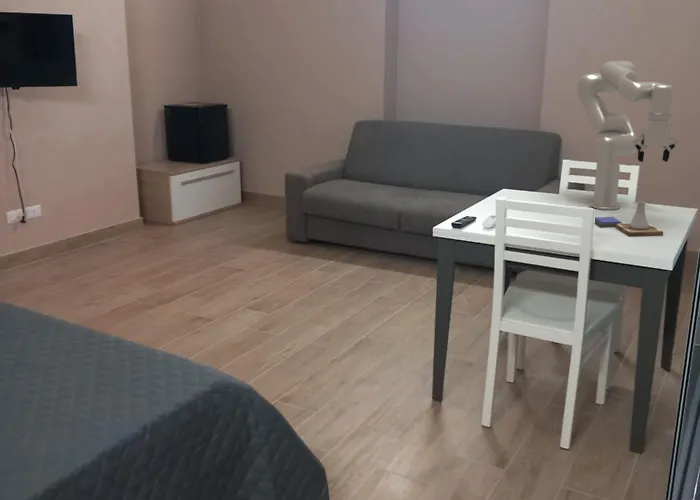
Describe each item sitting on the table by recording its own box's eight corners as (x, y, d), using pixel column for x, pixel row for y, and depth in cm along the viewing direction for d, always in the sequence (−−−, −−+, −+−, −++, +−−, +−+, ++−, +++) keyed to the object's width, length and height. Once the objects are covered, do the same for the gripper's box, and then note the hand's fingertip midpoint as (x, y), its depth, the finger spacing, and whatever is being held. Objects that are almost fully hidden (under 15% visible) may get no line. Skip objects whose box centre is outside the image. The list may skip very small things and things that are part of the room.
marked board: (614, 227, 280) (615, 223, 280) (647, 226, 281) (647, 222, 280) (629, 236, 268) (629, 232, 267) (662, 235, 268) (663, 231, 268)
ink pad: (591, 221, 289) (592, 217, 288) (613, 221, 289) (614, 216, 289) (600, 227, 280) (601, 222, 280) (623, 227, 281) (623, 222, 280)
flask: (650, 230, 270) (653, 204, 267) (630, 229, 271) (632, 204, 268) (647, 225, 276) (649, 200, 274) (627, 224, 278) (629, 199, 275)
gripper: (676, 115, 279) (670, 159, 284) (632, 115, 278) (627, 159, 284) (685, 118, 272) (678, 163, 277) (640, 118, 271) (634, 163, 277)
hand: (652, 161), depth 281 cm, fingers open, 9 cm apart
